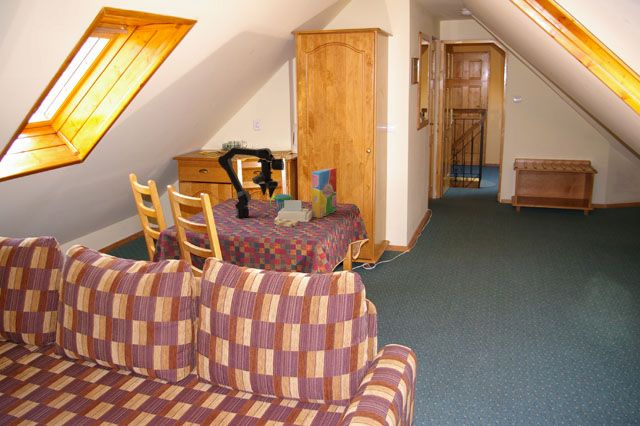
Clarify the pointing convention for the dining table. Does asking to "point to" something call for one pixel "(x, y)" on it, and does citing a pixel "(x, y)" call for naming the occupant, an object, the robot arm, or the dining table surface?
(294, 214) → the rack
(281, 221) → the stand
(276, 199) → the snack cup
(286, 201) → the pale grey tapered slat
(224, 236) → the dining table surface
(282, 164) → the robot arm
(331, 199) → the game box
